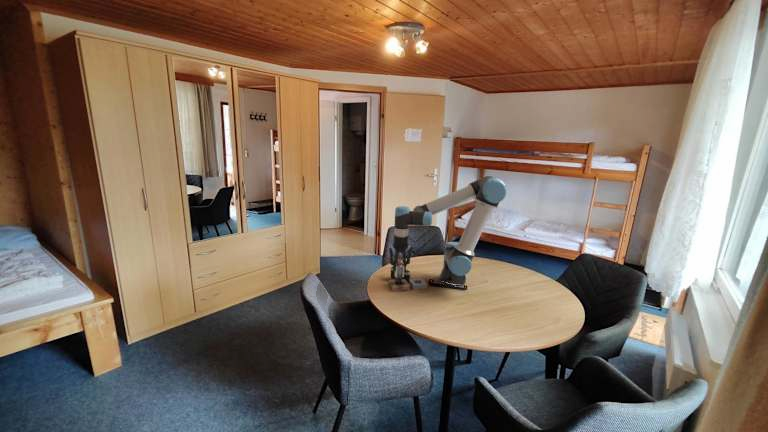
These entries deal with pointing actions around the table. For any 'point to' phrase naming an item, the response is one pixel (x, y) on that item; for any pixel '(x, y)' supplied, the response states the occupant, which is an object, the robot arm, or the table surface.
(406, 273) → the camera
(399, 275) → the lock pin
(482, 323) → the table surface
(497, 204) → the robot arm
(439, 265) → the table surface
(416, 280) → the plate
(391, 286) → the dock block
